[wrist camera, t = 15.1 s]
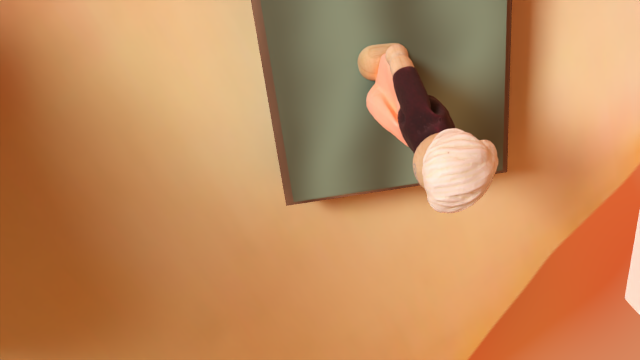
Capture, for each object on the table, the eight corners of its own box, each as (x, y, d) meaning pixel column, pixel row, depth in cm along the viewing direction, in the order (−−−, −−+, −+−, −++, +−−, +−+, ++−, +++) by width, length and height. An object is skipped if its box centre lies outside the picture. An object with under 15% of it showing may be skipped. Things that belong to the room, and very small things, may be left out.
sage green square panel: (284, 180, 39) (286, 210, 36) (247, -38, 33) (245, -28, 29) (488, 150, 40) (510, 176, 36) (490, -72, 33) (518, -67, 30)
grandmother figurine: (326, 55, 32) (362, 150, 20) (383, 10, 31) (453, 82, 20) (405, 154, 35) (474, 283, 24) (458, 114, 34) (557, 229, 23)
